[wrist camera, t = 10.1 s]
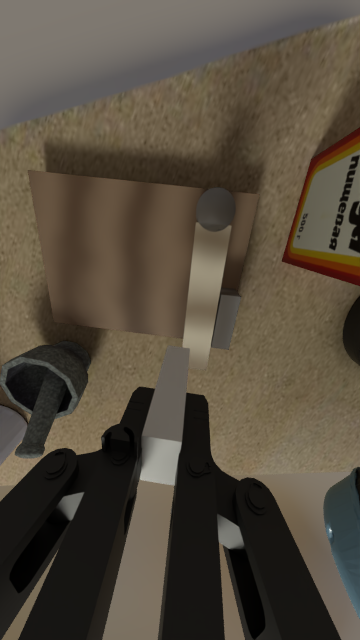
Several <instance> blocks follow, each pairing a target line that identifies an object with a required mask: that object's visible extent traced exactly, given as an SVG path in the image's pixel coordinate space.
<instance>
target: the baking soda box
mask: <svg viewBox="0 0 360 640" xmlns="http://www.w3.org/2000/svg"><path fill="white" fill-rule="evenodd" d="M282 262H285V263H288V264H292V265H295V266H298V267H301V268H304V269H307V270H310V271H314V272H317V273H320V274H323V275H326V276H329V277H333V278H336V279H339V280H342V281H345V282H348V283H352V284H355V285H358V286H360V128H358V129H357V130H355V131H354V132H352V133H351V134H349V135H348V136H346V137H344V138H343V139H341V140H340V141H338V142H337V143H335V144H334V145H332V146H331V147H329V148H328V149H326V150H325V151H323V152H321V153H320V154H318V155H317V156H315V157H314V158H312V159H311V162H310V165H309V169H308V172H307V176H306V179H305V183H304V186H303V189H302V193H301V196H300V200H299V203H298V207H297V210H296V214H295V217H294V220H293V224H292V227H291V231H290V234H289V238H288V241H287V245H286V248H285V252H284V255H283V258H282Z"/></svg>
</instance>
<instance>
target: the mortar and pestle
mask: <svg viewBox="0 0 360 640" xmlns="http://www.w3.org/2000/svg"><path fill="white" fill-rule="evenodd" d="M90 364H91V360H90V358H89V355H88V353H87V351H86V350H85V349H83V348H82V347H81V346H80V345H78V344H77V343H73V342H68V341H62V342H60V343H58V344H55V345H54V346H53V345H42V346H38V347H36V348H34V349H32V350H30V351H28V352H25V353H23V354H21V355H19V356H17V357H15V358H13V359H11V360H10V361H8V362H7V363H5V364H4V365H2V370H1V376H0V385H1V386H2V388H3V390H4V391H5V393H6V394H7V396H8V398H9V399H10V401H11V402H12V403H14V404H15V405H17V406H19V407H20V408H22V409H23V410H25V411H26V412H28V413H29V414H31V418H30V421H29V424H28V426H27V429H26V432H25V435H24V438H23V441H22V443H21V444H20V445H19V446H18V447H17V449H16V451H15V455H16V456H18V457H20V458H37V457H40V456H42V455H43V453H44V450H45V447H44V443H45V441H46V439H47V436H48V434H49V431H50V429H51V426H52V424H53V422H54V419H57V418H60V417H62V416H65V415H68V414H71V413H72V412H73V411H74V409H75V408H76V407H77V405H78V403H79V401H80V399H81V397H82V395H83V392H84V390H85V388H86V385H87V383H88V373H87V371H88V368H89V366H90Z"/></svg>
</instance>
